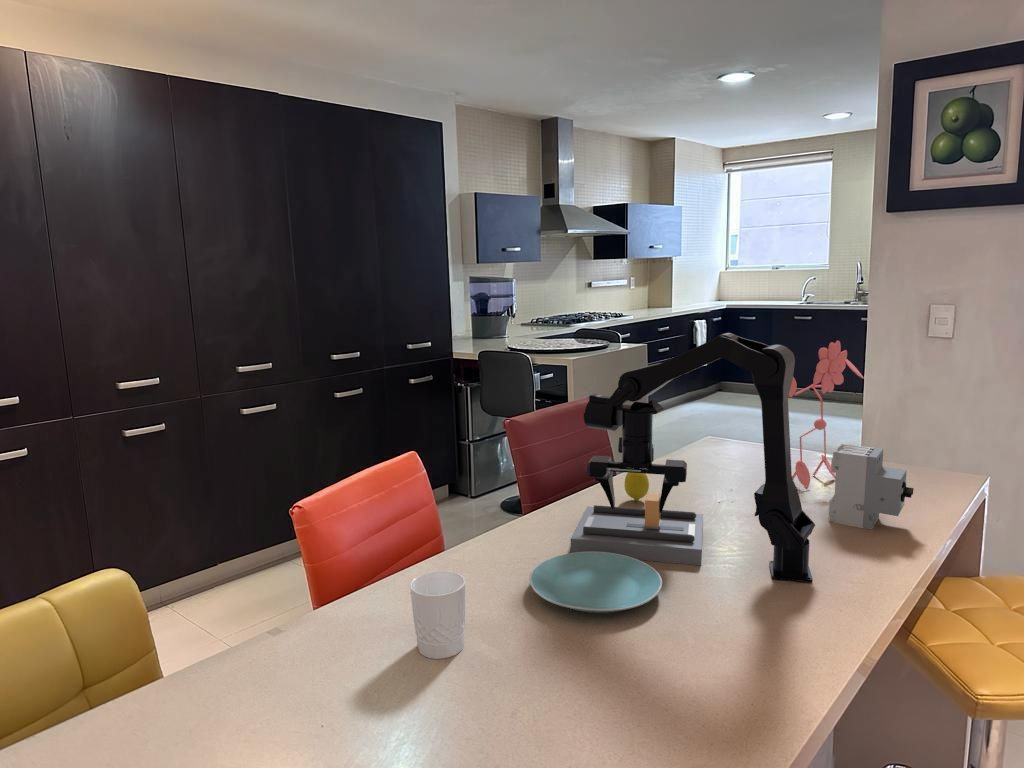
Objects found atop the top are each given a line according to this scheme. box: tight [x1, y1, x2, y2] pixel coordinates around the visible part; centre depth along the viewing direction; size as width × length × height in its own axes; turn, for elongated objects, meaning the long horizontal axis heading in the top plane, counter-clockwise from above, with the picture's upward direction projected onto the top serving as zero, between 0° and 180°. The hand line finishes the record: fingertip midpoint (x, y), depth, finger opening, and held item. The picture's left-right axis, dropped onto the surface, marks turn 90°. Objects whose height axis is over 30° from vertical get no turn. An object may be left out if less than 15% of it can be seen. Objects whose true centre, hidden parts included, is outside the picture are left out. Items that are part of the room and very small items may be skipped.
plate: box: [529, 552, 663, 614], centre depth 115 cm, size 22×22×3 cm
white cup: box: [409, 570, 466, 660], centre depth 99 cm, size 8×8×10 cm
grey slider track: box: [583, 504, 697, 542], centre depth 135 cm, size 13×21×1 cm, turn 74°
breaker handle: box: [644, 492, 661, 529], centre depth 134 cm, size 4×3×6 cm
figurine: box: [788, 340, 865, 490], centre depth 161 cm, size 15×26×35 cm, turn 121°
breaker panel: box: [570, 506, 704, 566], centre depth 136 cm, size 18×24×3 cm
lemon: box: [624, 472, 650, 502], centre depth 158 cm, size 6×6×8 cm
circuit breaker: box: [827, 443, 914, 531], centre depth 140 cm, size 8×14×15 cm, turn 53°
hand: (636, 510), depth 135 cm, fingers open, 9 cm apart
